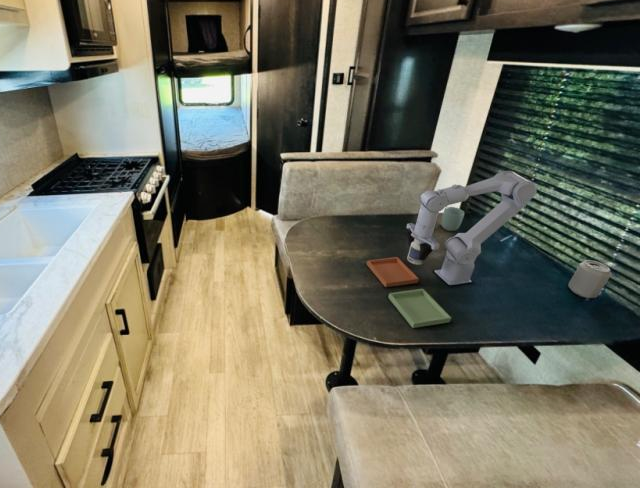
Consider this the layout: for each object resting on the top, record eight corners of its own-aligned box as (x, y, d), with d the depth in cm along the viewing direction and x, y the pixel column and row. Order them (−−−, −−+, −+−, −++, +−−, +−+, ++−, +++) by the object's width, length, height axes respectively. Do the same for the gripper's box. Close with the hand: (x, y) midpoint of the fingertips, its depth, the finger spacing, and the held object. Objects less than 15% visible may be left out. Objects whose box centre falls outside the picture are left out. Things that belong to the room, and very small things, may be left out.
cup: (436, 224, 154) (441, 206, 149) (453, 224, 153) (459, 207, 149) (444, 232, 147) (450, 214, 142) (461, 233, 146) (468, 215, 142)
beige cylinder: (588, 287, 114) (604, 260, 109) (601, 301, 108) (619, 274, 102) (562, 282, 116) (577, 256, 111) (574, 296, 110) (590, 269, 105)
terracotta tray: (396, 260, 129) (397, 256, 128) (417, 282, 117) (418, 278, 116) (366, 264, 127) (367, 260, 126) (385, 287, 115) (386, 283, 114)
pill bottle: (424, 266, 115) (431, 244, 111) (409, 264, 116) (415, 242, 112) (420, 257, 120) (426, 235, 115) (405, 255, 121) (411, 234, 116)
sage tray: (421, 292, 112) (423, 288, 111) (449, 322, 100) (451, 317, 100) (388, 297, 110) (389, 293, 109) (412, 328, 99) (414, 323, 98)
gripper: (402, 214, 117) (395, 244, 122) (429, 235, 104) (420, 268, 109) (419, 212, 118) (411, 242, 123) (448, 233, 105) (438, 265, 110)
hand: (416, 254), depth 117 cm, fingers closed on pill bottle, 5 cm apart
